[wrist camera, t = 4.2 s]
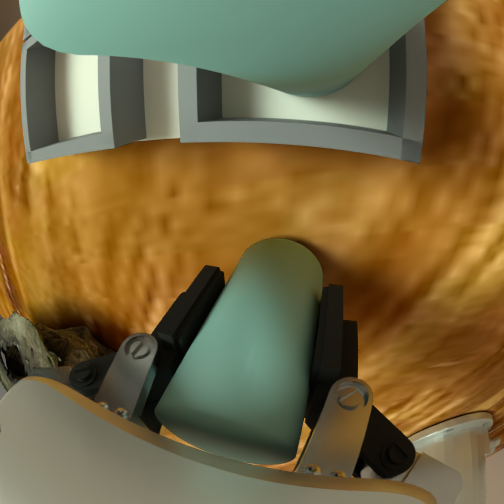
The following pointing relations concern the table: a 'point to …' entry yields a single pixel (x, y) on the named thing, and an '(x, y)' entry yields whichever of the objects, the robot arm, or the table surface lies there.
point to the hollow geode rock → (42, 347)
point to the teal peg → (251, 359)
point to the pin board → (224, 74)
